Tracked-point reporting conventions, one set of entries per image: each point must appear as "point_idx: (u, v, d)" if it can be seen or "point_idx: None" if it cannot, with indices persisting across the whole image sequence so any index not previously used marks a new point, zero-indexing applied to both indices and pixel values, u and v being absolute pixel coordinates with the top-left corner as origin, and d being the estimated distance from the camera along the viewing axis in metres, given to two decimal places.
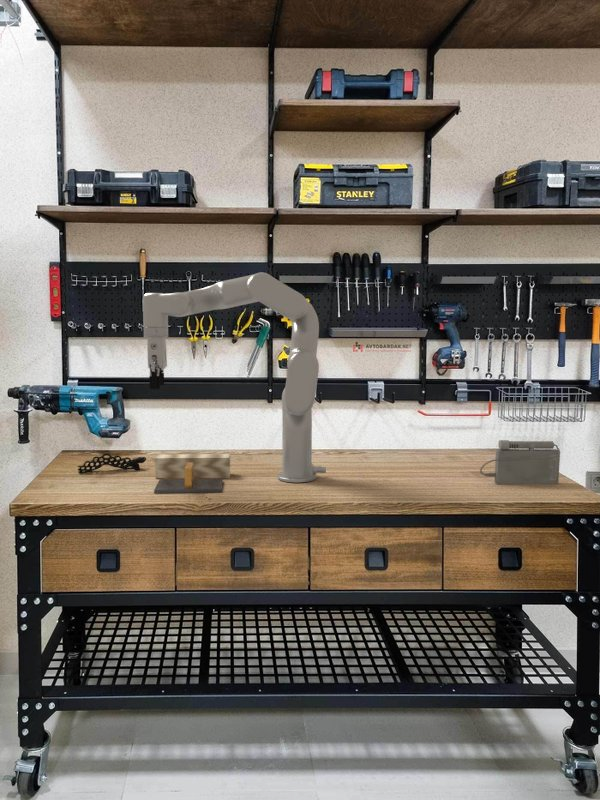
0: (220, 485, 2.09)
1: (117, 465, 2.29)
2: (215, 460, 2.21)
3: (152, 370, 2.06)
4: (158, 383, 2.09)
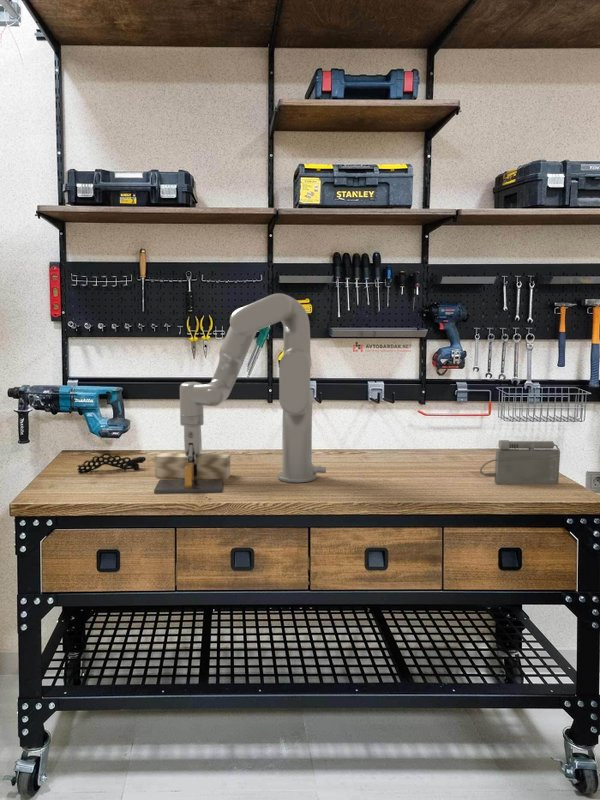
0: (220, 485, 2.09)
1: (116, 465, 2.30)
2: (213, 460, 2.20)
3: (190, 460, 2.17)
4: (195, 471, 2.20)
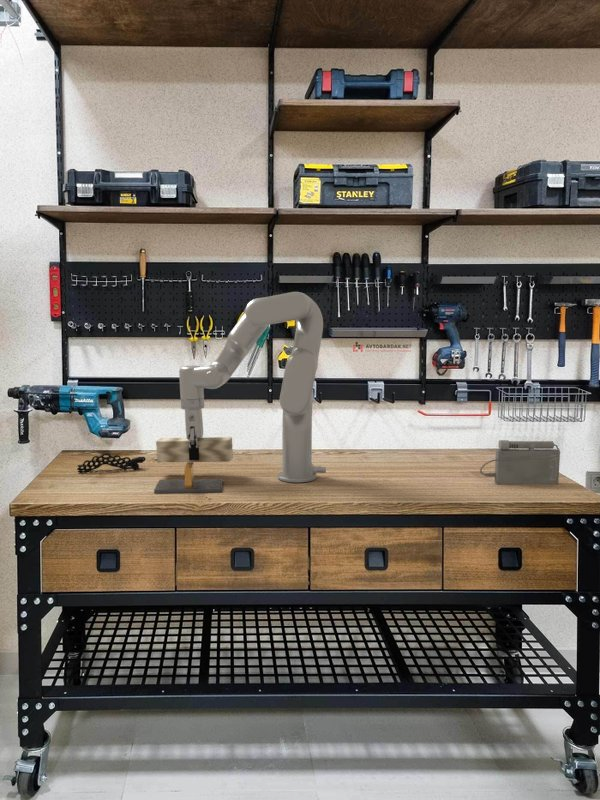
0: (220, 485, 2.09)
1: (116, 465, 2.30)
2: (215, 443, 2.19)
3: (191, 443, 2.16)
4: (197, 454, 2.20)
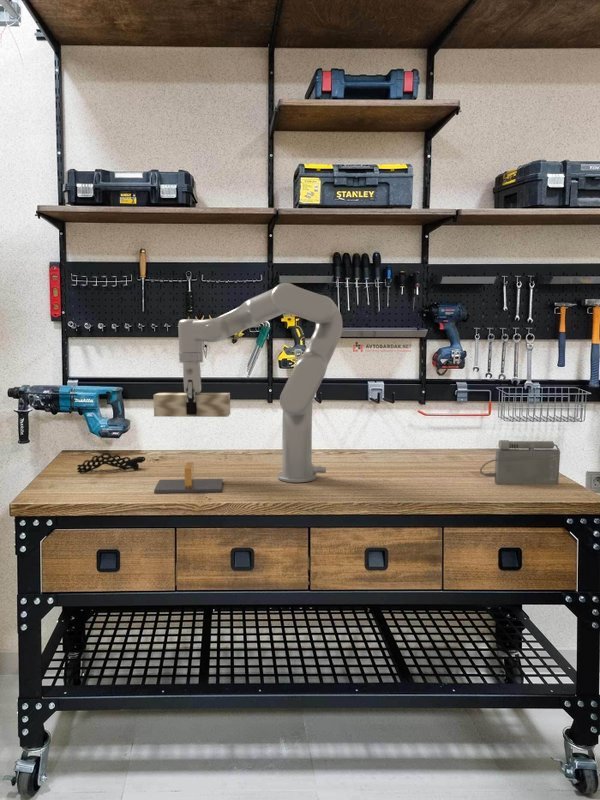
0: (220, 485, 2.09)
1: (116, 465, 2.30)
2: (213, 397, 2.17)
3: (189, 397, 2.14)
4: (194, 409, 2.17)
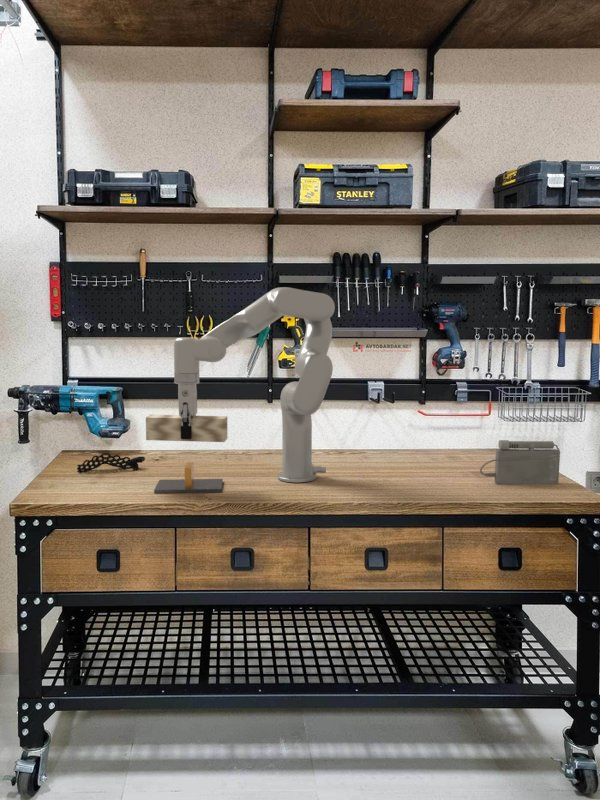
0: (220, 485, 2.09)
1: (116, 464, 2.30)
2: (209, 421, 2.04)
3: (184, 420, 2.01)
4: (189, 433, 2.04)
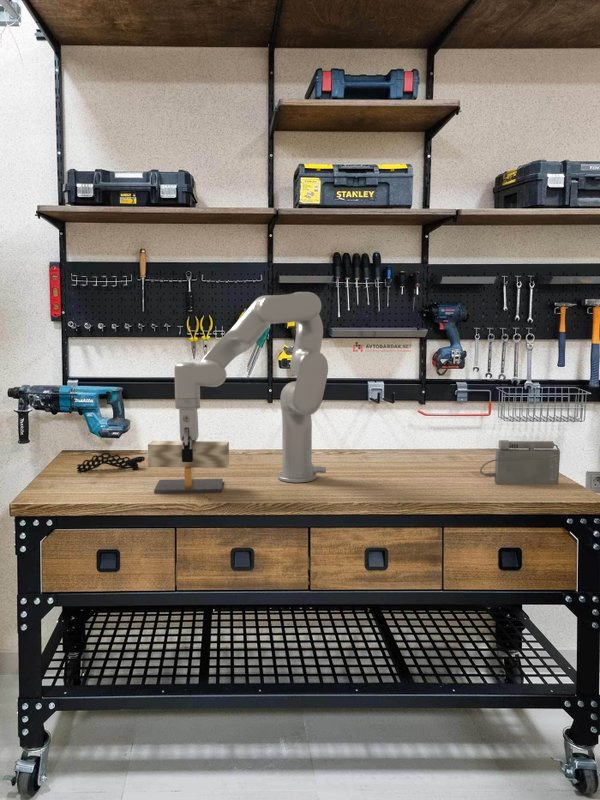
0: (220, 485, 2.09)
1: (115, 464, 2.31)
2: (211, 447, 2.06)
3: (185, 444, 2.01)
4: (191, 456, 2.04)
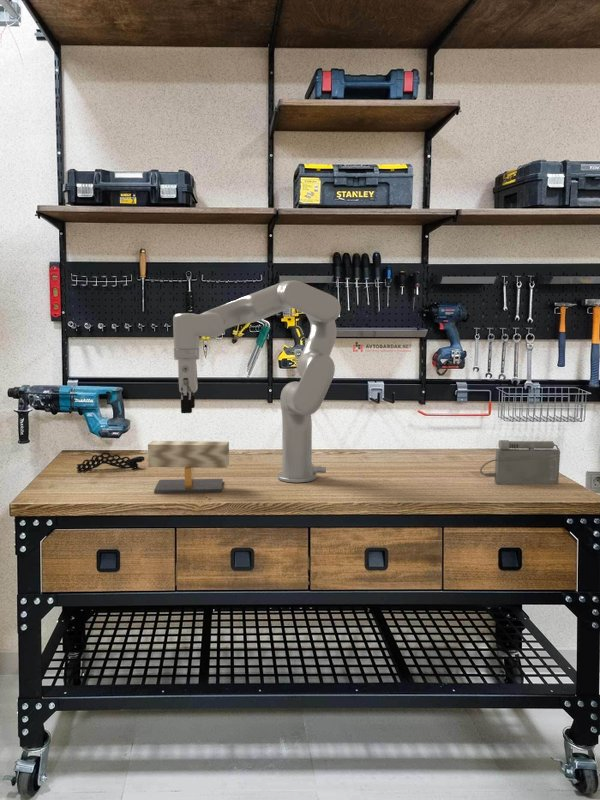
0: (220, 485, 2.09)
1: (115, 464, 2.31)
2: (211, 447, 2.06)
3: (184, 394, 1.99)
4: (190, 407, 2.02)
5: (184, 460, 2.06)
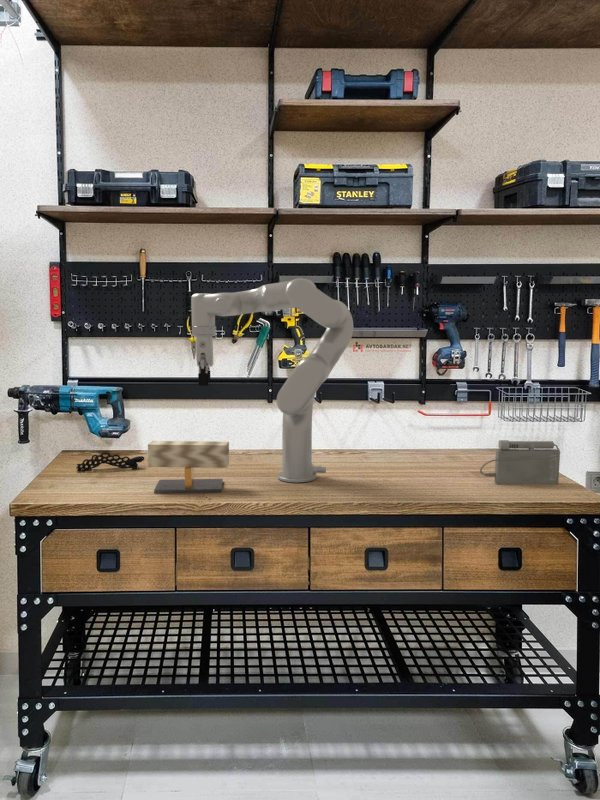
0: (220, 485, 2.09)
1: (115, 464, 2.31)
2: (211, 447, 2.06)
3: (201, 367, 2.15)
4: (206, 380, 2.18)
5: (184, 460, 2.06)
